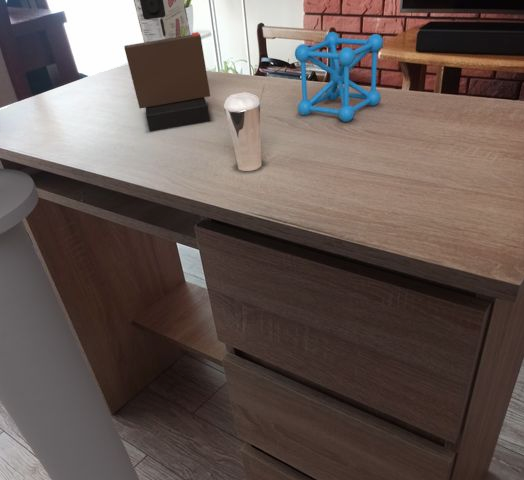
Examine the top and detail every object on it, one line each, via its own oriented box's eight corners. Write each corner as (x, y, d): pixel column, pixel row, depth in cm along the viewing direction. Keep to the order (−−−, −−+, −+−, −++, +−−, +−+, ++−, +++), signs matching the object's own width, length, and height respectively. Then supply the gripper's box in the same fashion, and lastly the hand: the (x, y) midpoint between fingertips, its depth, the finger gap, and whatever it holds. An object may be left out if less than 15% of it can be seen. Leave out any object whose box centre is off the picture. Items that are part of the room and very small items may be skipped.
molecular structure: (383, 104, 83) (386, 32, 76) (348, 125, 78) (349, 50, 71) (330, 97, 88) (329, 29, 82) (295, 116, 83) (291, 45, 76)
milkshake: (269, 173, 68) (261, 90, 61) (229, 174, 69) (217, 93, 62) (274, 158, 71) (267, 79, 64) (237, 160, 72) (226, 82, 65)
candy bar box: (177, 78, 108) (158, -17, 97) (199, 77, 107) (182, -20, 96) (154, 95, 100) (131, -6, 89) (177, 95, 99) (157, -8, 88)
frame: (139, 108, 86) (123, 46, 80) (139, 105, 87) (123, 43, 81) (210, 96, 87) (200, 33, 81) (209, 93, 88) (199, 31, 82)
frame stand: (149, 131, 85) (145, 115, 83) (148, 113, 92) (144, 98, 91) (209, 121, 86) (207, 105, 84) (203, 103, 93) (201, 88, 91)
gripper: (98, -135, 74) (129, 8, 85) (91, -145, 61) (128, 25, 72) (151, -140, 74) (175, 2, 85) (155, -151, 61) (182, 18, 72)
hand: (153, 13), depth 79 cm, fingers open, 9 cm apart
